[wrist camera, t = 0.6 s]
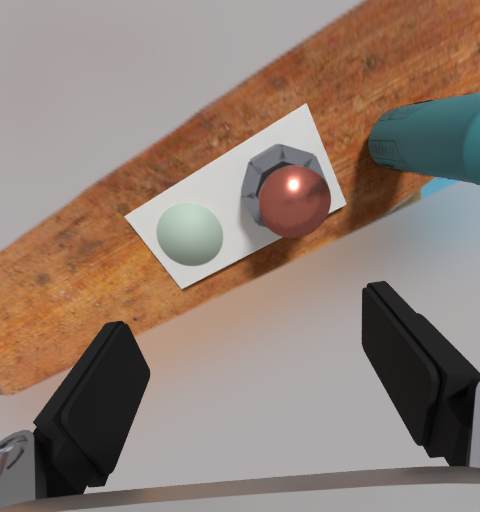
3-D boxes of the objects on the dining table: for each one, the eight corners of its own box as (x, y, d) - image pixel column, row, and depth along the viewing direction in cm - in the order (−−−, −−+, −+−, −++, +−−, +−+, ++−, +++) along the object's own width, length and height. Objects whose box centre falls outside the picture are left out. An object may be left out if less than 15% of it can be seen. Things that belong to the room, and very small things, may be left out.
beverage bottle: (356, 167, 32) (507, 209, 14) (365, 107, 29) (569, 60, 11) (408, 165, 32) (628, 205, 14) (422, 104, 29) (721, 54, 11)
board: (304, 104, 29) (316, 98, 25) (343, 202, 34) (359, 212, 29) (127, 214, 35) (110, 226, 30) (183, 285, 39) (175, 305, 35)
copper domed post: (301, 152, 30) (327, 158, 21) (307, 203, 33) (334, 229, 24) (248, 165, 31) (252, 177, 22) (259, 215, 34) (267, 244, 25)
